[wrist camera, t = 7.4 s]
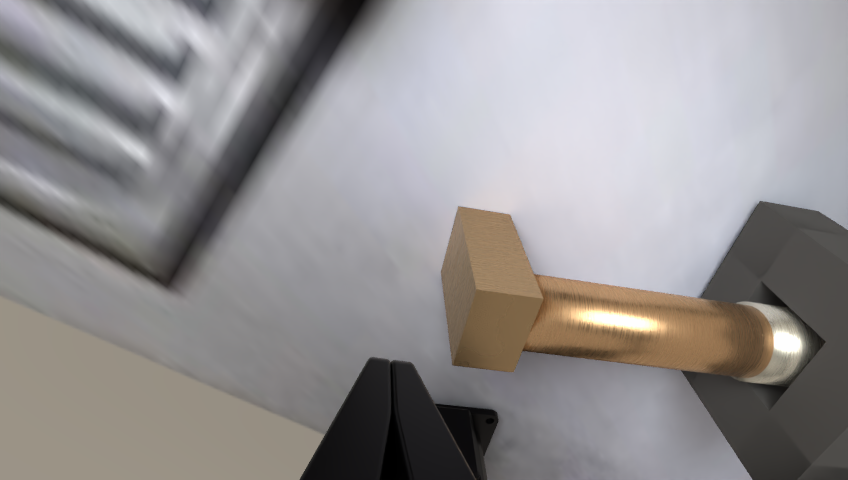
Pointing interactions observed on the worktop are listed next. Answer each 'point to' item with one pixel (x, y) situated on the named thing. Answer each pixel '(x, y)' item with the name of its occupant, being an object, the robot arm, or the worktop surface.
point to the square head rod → (602, 316)
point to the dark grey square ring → (823, 376)
